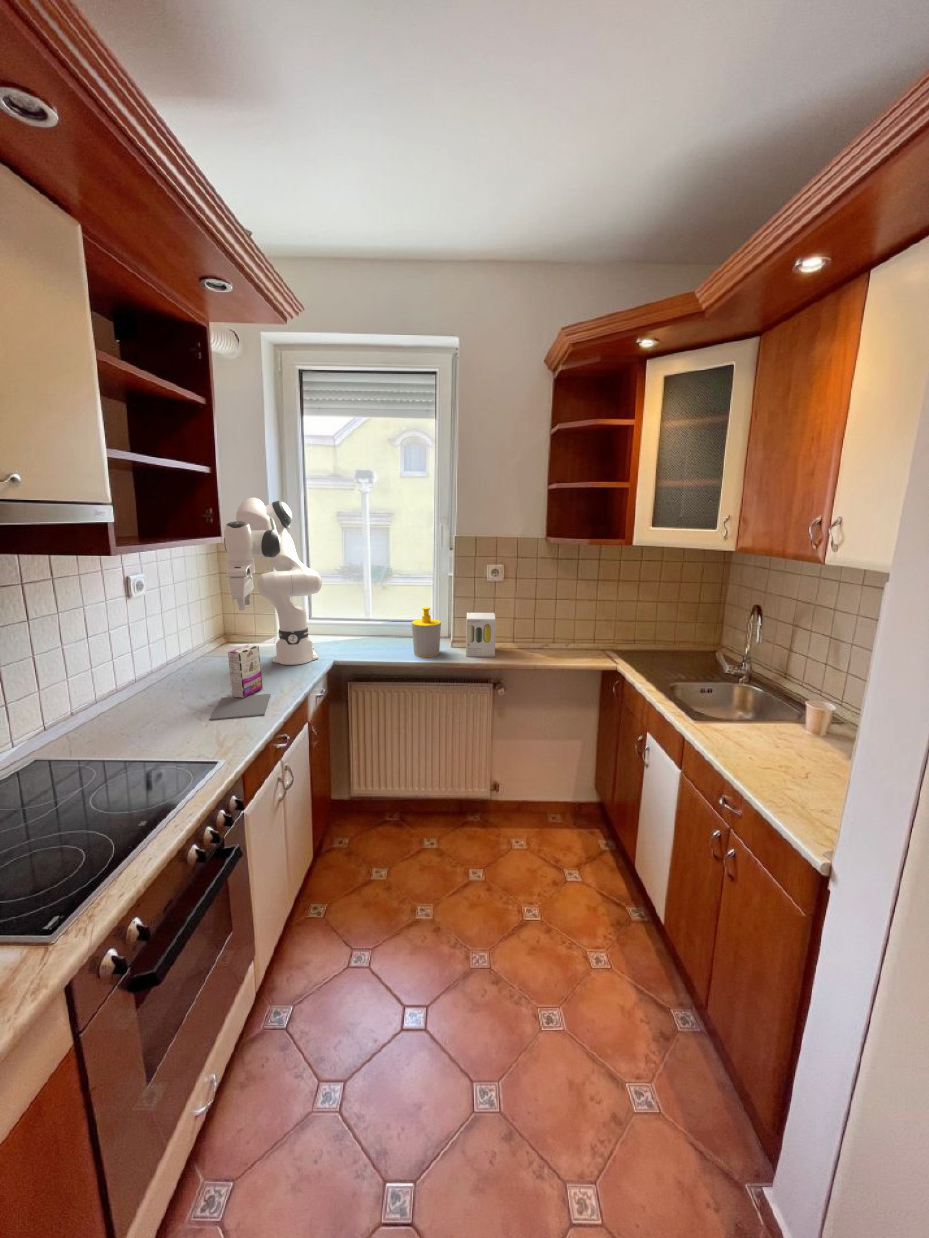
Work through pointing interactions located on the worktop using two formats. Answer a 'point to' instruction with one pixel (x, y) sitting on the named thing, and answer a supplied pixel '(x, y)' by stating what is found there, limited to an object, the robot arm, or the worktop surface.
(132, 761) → the worktop surface
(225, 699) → the mat
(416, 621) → the soap bottle
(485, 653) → the supplement box
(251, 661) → the candy bar box
